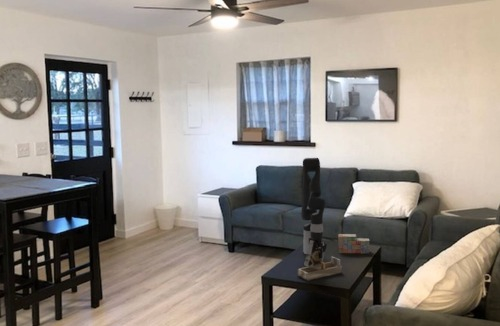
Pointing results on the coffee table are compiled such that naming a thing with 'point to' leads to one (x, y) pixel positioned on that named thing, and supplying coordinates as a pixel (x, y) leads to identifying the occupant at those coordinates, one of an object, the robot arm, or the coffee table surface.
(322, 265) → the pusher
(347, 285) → the coffee table surface
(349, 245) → the stack of blocks
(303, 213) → the robot arm
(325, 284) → the coffee table surface
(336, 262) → the wooden tray
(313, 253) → the coffee box
